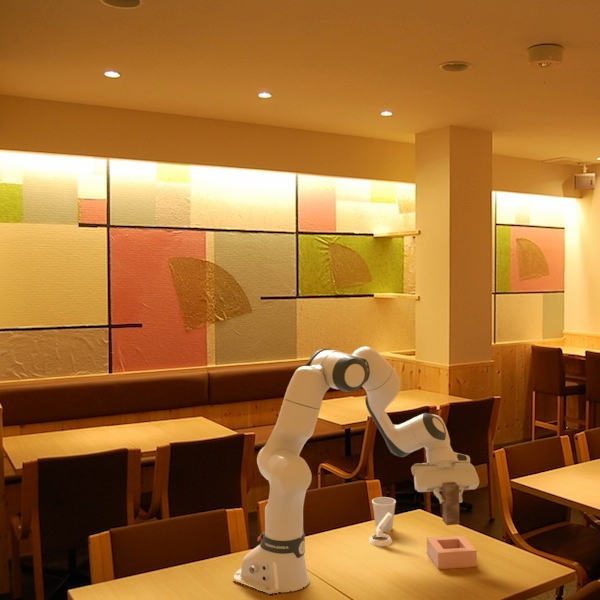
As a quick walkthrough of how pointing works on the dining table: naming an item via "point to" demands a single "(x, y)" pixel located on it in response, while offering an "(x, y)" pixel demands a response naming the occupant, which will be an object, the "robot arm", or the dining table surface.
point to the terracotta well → (451, 552)
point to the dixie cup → (384, 511)
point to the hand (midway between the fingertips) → (451, 502)
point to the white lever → (381, 533)
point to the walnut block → (451, 503)
